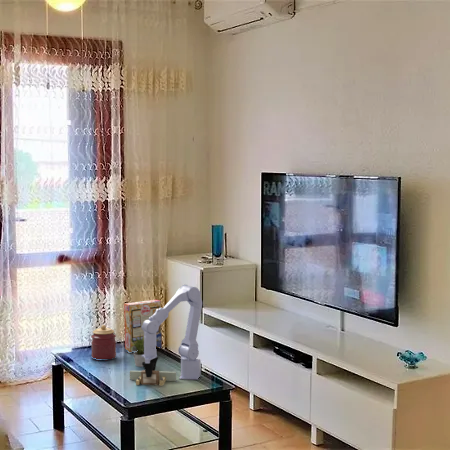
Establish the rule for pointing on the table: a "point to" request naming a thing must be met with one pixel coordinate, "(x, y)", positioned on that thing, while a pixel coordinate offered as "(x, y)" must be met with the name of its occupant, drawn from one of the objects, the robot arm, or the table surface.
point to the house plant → (140, 352)
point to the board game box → (139, 321)
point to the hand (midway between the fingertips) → (150, 374)
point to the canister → (103, 343)
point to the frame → (150, 378)
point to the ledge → (162, 377)
